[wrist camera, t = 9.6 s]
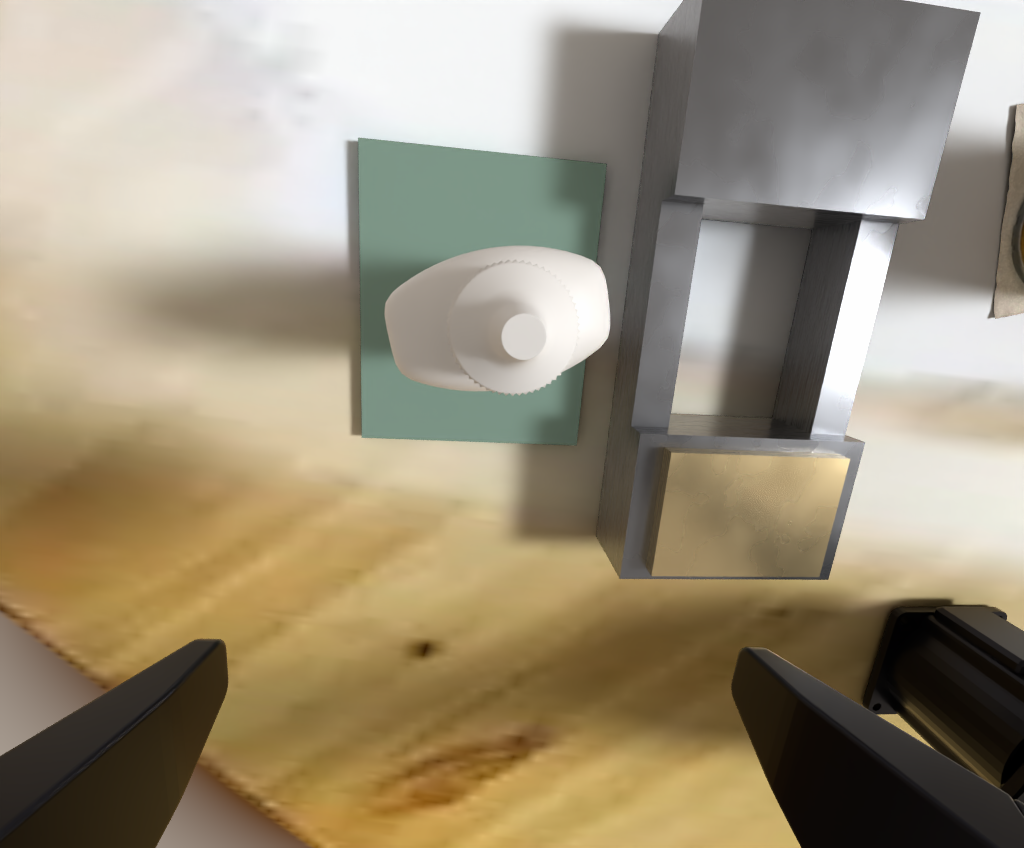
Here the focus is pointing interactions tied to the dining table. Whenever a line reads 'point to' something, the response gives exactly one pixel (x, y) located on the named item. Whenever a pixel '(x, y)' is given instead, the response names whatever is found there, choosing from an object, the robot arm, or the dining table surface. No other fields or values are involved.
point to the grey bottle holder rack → (826, 278)
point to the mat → (451, 232)
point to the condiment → (1012, 233)
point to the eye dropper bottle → (498, 319)
